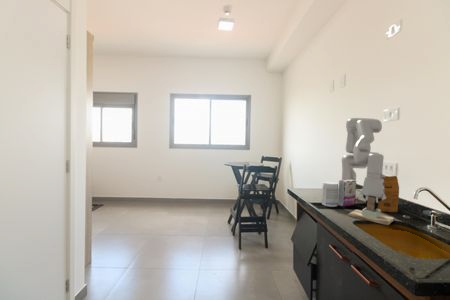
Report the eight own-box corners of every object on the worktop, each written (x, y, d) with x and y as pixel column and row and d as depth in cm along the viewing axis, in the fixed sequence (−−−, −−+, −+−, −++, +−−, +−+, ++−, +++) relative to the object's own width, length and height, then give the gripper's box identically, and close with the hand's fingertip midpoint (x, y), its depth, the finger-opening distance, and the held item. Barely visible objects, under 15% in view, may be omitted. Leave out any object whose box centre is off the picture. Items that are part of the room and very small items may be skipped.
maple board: (356, 211, 167) (356, 209, 166) (394, 220, 153) (394, 217, 153) (348, 215, 157) (348, 213, 157) (388, 225, 143) (388, 222, 143)
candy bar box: (348, 203, 187) (350, 179, 185) (355, 205, 182) (357, 180, 181) (337, 204, 181) (338, 180, 180) (343, 206, 177) (345, 181, 176)
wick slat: (369, 209, 158) (370, 194, 157) (376, 210, 155) (377, 196, 155) (366, 210, 154) (367, 196, 154) (373, 212, 152) (374, 197, 151)
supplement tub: (340, 206, 178) (342, 183, 177) (331, 208, 173) (332, 184, 172) (327, 202, 186) (329, 181, 185) (318, 204, 181) (319, 182, 180)
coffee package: (370, 207, 178) (373, 173, 176) (390, 208, 177) (393, 174, 176) (378, 212, 168) (381, 176, 166) (399, 213, 167) (402, 177, 166)
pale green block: (366, 212, 160) (367, 206, 160) (380, 215, 156) (380, 209, 155) (361, 215, 154) (362, 209, 154) (375, 218, 149) (376, 212, 149)
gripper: (392, 177, 150) (390, 210, 152) (360, 173, 162) (358, 204, 163) (389, 178, 145) (386, 213, 146) (356, 174, 156) (353, 206, 158)
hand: (371, 208), depth 155 cm, fingers closed on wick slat, 3 cm apart
